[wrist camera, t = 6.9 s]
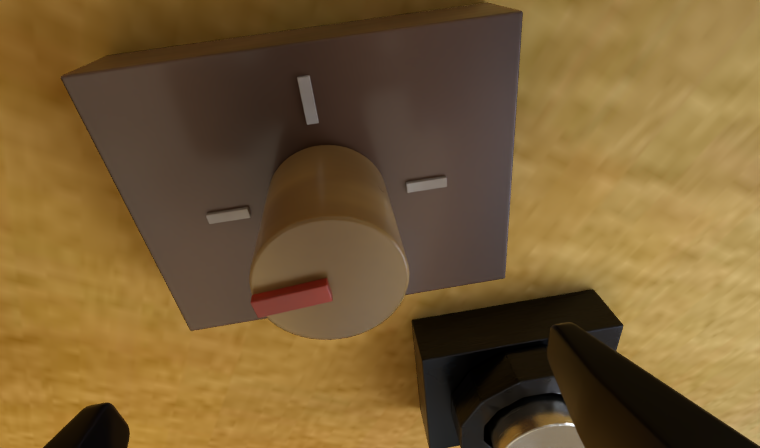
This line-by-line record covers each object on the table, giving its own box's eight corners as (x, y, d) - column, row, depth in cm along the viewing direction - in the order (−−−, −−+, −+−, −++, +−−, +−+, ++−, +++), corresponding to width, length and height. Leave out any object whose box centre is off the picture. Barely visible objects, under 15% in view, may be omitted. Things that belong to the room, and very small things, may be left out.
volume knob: (373, 131, 13) (397, 206, 9) (395, 233, 15) (422, 330, 11) (250, 159, 13) (219, 246, 9) (289, 257, 15) (278, 363, 11)
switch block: (593, 288, 22) (648, 354, 19) (572, 381, 27) (614, 450, 23) (411, 319, 22) (430, 393, 18) (420, 409, 26) (437, 484, 23)
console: (488, 2, 14) (526, 11, 12) (482, 238, 20) (507, 281, 17) (106, 55, 14) (55, 77, 11) (207, 283, 19) (189, 334, 17)
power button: (578, 383, 20) (598, 416, 18) (566, 434, 22) (583, 468, 21) (488, 399, 20) (501, 434, 18) (485, 449, 22) (497, 484, 21)
